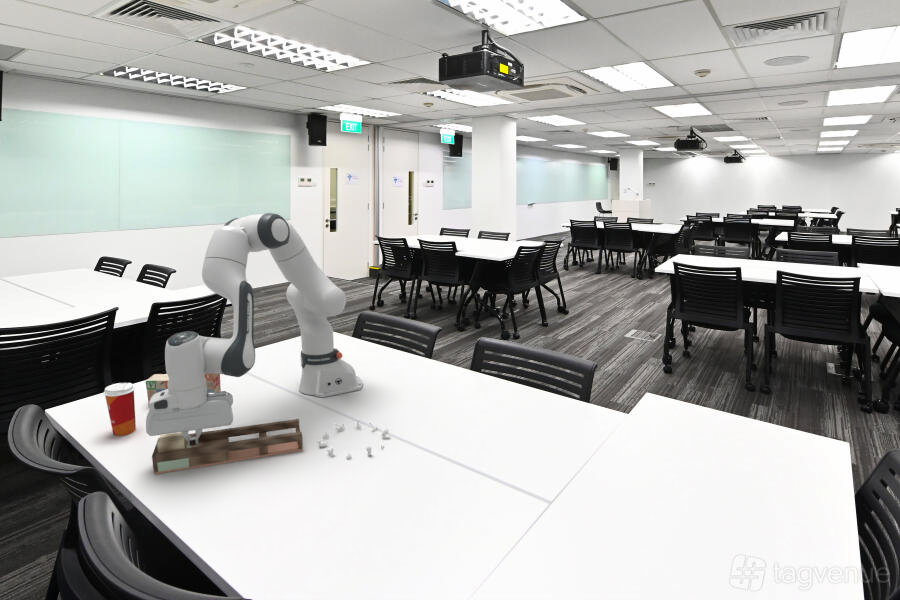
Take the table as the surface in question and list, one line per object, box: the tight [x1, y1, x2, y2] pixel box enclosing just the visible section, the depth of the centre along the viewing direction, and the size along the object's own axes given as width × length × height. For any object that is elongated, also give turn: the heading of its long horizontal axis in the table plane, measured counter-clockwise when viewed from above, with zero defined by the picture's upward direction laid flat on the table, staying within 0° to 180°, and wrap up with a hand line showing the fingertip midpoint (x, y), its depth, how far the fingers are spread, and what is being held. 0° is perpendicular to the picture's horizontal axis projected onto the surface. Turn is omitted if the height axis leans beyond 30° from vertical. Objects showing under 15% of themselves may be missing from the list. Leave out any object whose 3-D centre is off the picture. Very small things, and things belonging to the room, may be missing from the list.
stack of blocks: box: [145, 373, 222, 405], centre depth 170 cm, size 21×6×12 cm, turn 94°
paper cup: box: [103, 382, 137, 437], centre depth 149 cm, size 8×8×14 cm
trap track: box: [151, 418, 304, 475], centre depth 138 cm, size 36×10×5 cm, turn 111°
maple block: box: [156, 432, 187, 452], centre depth 133 cm, size 6×5×4 cm
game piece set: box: [316, 418, 389, 460], centre depth 145 cm, size 19×20×4 cm
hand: (193, 444), depth 135 cm, fingers closed
